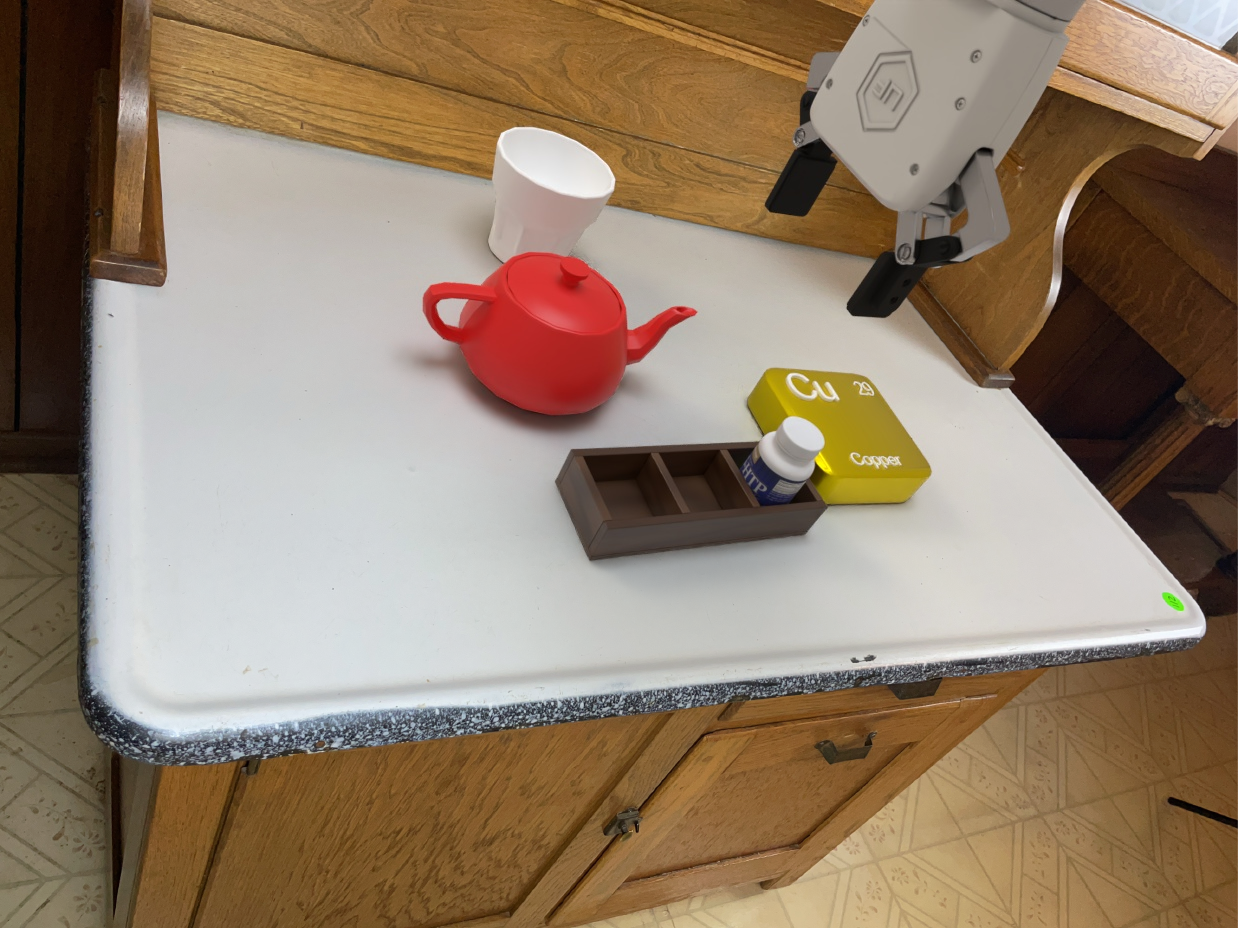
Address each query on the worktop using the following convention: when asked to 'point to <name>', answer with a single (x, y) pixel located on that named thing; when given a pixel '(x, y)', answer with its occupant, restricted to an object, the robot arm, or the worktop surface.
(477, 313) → the teapot
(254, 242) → the worktop surface
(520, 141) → the cup
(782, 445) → the pill bottle
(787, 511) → the rack
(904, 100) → the robot arm
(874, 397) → the element tile
